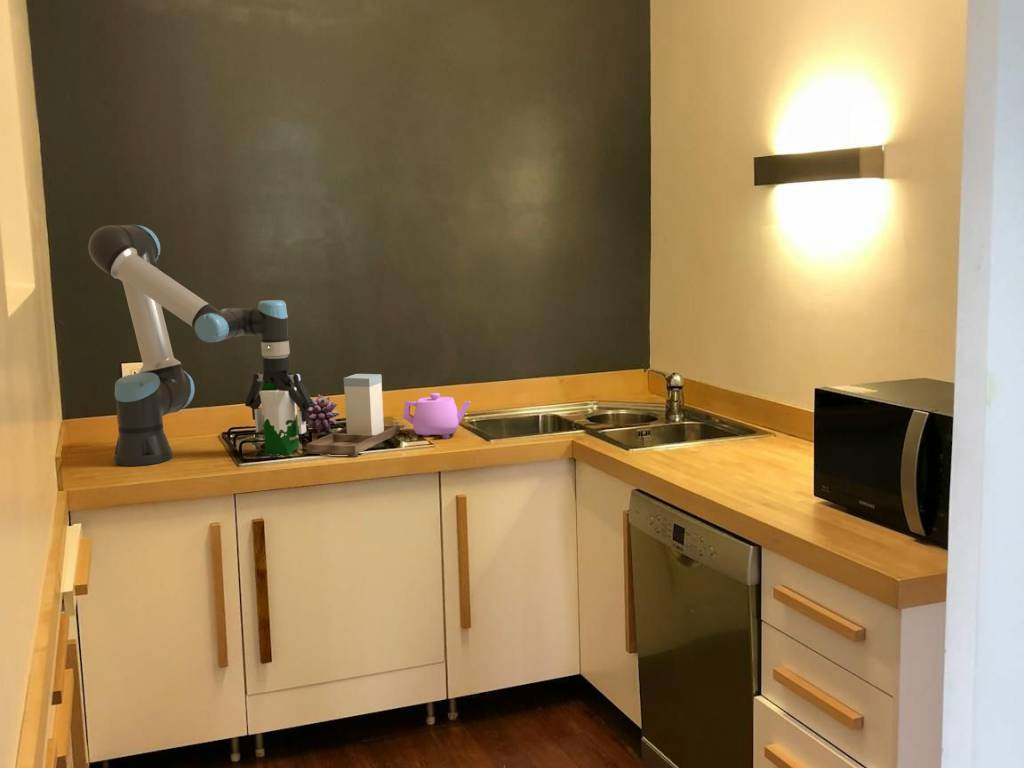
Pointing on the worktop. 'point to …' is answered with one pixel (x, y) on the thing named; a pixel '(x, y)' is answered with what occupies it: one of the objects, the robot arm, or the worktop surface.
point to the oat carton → (364, 404)
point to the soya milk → (279, 421)
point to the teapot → (435, 415)
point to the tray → (349, 442)
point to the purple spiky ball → (321, 414)
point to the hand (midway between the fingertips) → (281, 432)
